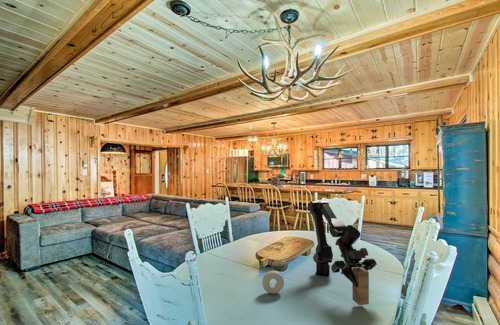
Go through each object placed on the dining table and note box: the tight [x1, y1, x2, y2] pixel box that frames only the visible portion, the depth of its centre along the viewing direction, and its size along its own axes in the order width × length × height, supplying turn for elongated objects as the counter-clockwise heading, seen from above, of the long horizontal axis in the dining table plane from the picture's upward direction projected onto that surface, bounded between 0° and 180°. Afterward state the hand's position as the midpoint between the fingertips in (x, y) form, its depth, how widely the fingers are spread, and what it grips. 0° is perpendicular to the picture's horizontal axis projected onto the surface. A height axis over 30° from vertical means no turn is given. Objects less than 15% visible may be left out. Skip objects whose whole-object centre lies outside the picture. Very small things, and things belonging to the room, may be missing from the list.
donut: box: [261, 270, 285, 295], centre depth 112 cm, size 10×4×10 cm, turn 92°
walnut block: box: [351, 267, 370, 306], centre depth 101 cm, size 4×4×13 cm
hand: (362, 286), depth 99 cm, fingers closed on walnut block, 4 cm apart
